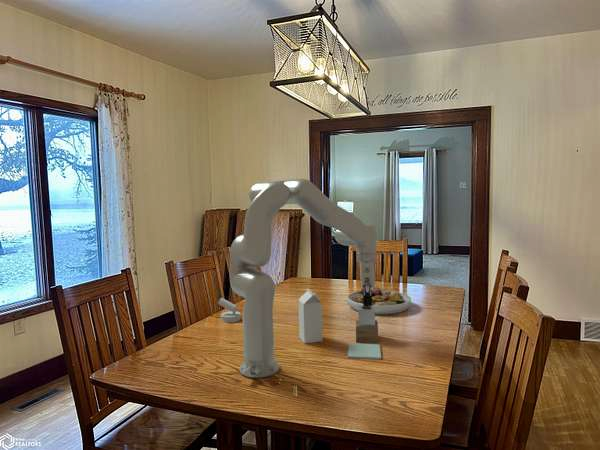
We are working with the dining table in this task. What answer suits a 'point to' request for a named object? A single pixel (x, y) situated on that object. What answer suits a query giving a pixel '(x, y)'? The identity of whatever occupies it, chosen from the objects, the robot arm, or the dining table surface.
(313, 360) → the dining table surface
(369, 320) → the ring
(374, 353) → the mat
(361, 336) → the post
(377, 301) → the bowl
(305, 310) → the milk carton
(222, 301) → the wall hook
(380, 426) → the dining table surface
